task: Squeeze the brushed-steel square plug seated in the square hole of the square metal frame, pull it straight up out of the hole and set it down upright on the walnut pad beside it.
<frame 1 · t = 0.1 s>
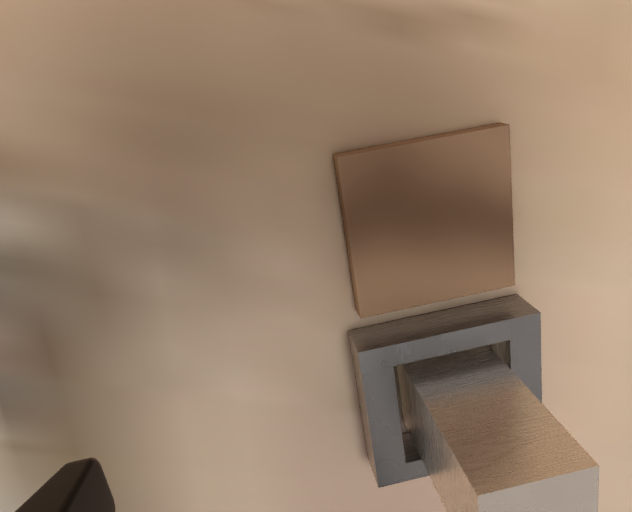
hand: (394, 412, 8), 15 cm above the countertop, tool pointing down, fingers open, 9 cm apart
square metal frame: (440, 379, 26), on the countertop
walnut pad: (425, 220, 23), on the countertop
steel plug: (480, 439, 22), in the square metal frame
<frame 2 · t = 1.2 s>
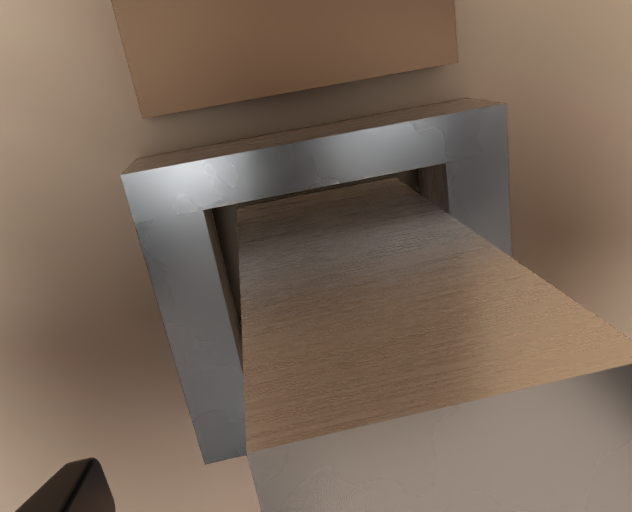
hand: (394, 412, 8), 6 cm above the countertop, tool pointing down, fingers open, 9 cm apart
square metal frame: (329, 266, 14), on the countertop
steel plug: (370, 351, 10), in the square metal frame
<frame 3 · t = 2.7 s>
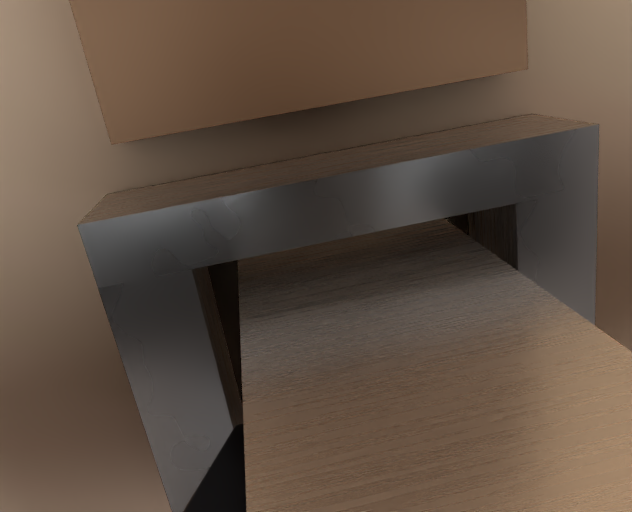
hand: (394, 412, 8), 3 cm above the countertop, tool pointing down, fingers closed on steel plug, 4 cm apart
square metal frame: (353, 325, 11), on the countertop
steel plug: (426, 478, 7), in the square metal frame, touching gripper
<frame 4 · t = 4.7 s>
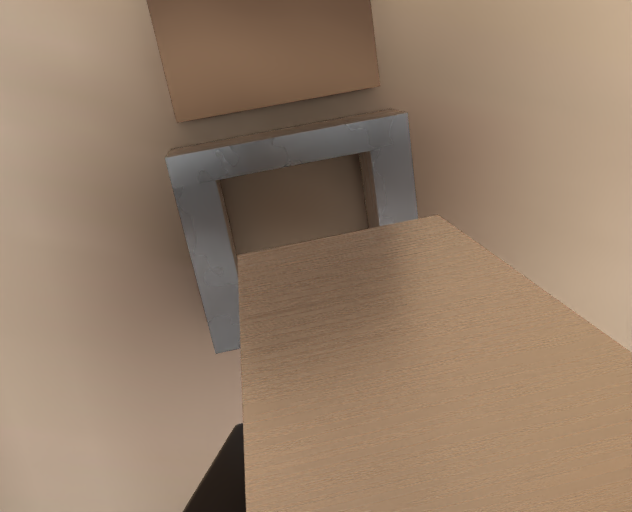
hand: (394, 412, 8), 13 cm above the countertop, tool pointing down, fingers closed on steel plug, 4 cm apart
square metal frame: (300, 223, 21), on the countertop
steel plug: (426, 479, 7), point 14 cm above the countertop, touching gripper
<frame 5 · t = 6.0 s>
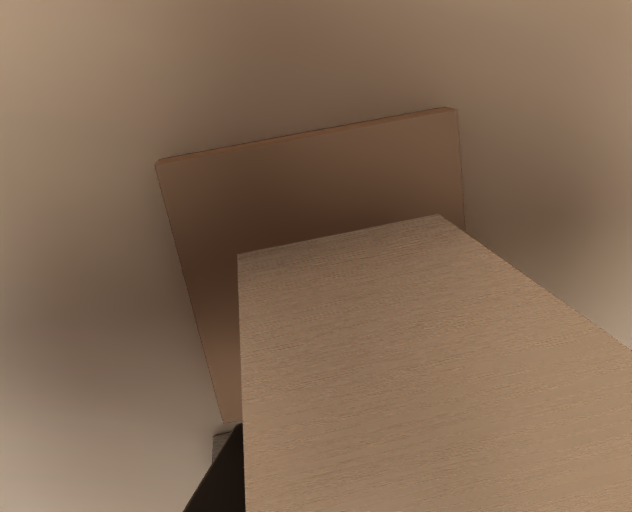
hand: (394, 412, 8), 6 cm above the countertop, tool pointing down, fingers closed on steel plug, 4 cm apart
walnut pad: (326, 266, 14), on the countertop
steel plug: (426, 479, 7), point 8 cm above the countertop, touching gripper
when the fingers open (5 cm above the countertop, at t = 7.0 s): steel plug drops 1 cm, resting on walnut pad.
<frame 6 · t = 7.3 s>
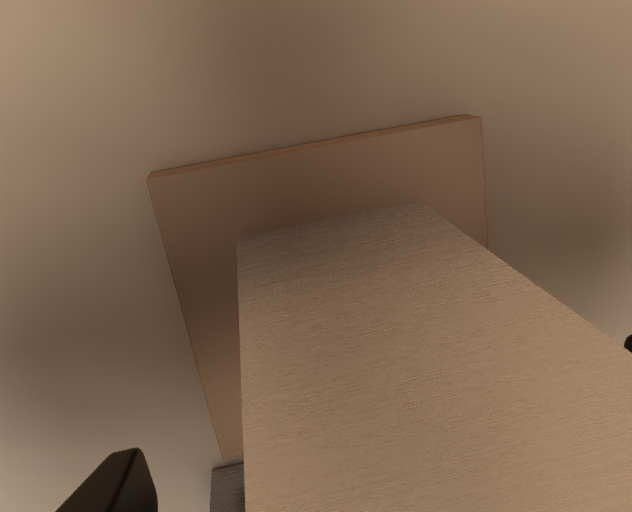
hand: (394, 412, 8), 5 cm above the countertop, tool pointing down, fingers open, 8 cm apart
walnut pad: (335, 287, 13), on the countertop
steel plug: (400, 424, 8), on the walnut pad, point 5 cm above the countertop
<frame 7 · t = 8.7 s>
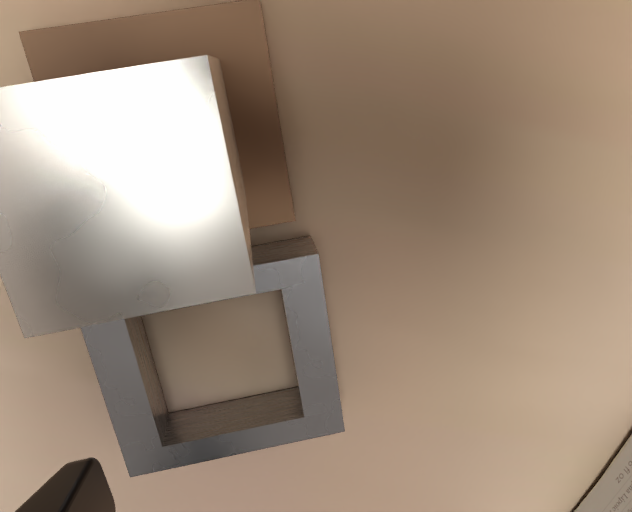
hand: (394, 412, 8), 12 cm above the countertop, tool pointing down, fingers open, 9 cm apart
square metal frame: (220, 343, 21), on the countertop
walnut pad: (172, 131, 18), on the countertop
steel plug: (149, 159, 13), on the walnut pad, point 5 cm above the countertop
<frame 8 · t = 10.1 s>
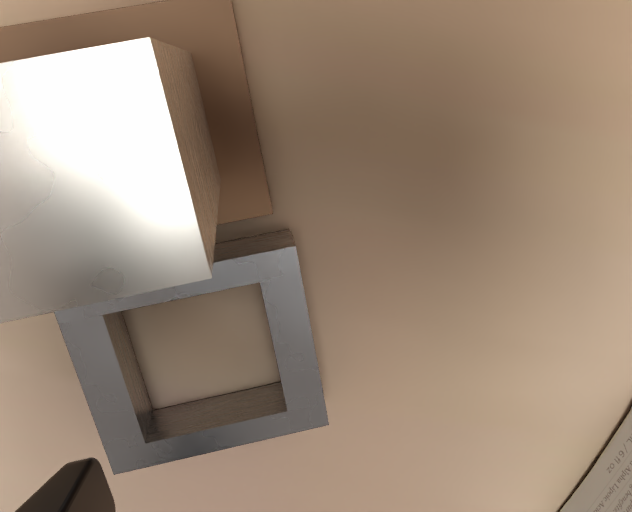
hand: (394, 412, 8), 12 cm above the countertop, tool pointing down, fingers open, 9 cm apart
square metal frame: (203, 338, 21), on the countertop
walnut pad: (146, 126, 18), on the countertop
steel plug: (115, 150, 13), on the walnut pad, point 5 cm above the countertop
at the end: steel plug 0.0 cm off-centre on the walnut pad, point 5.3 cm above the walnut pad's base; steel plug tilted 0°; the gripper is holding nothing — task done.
